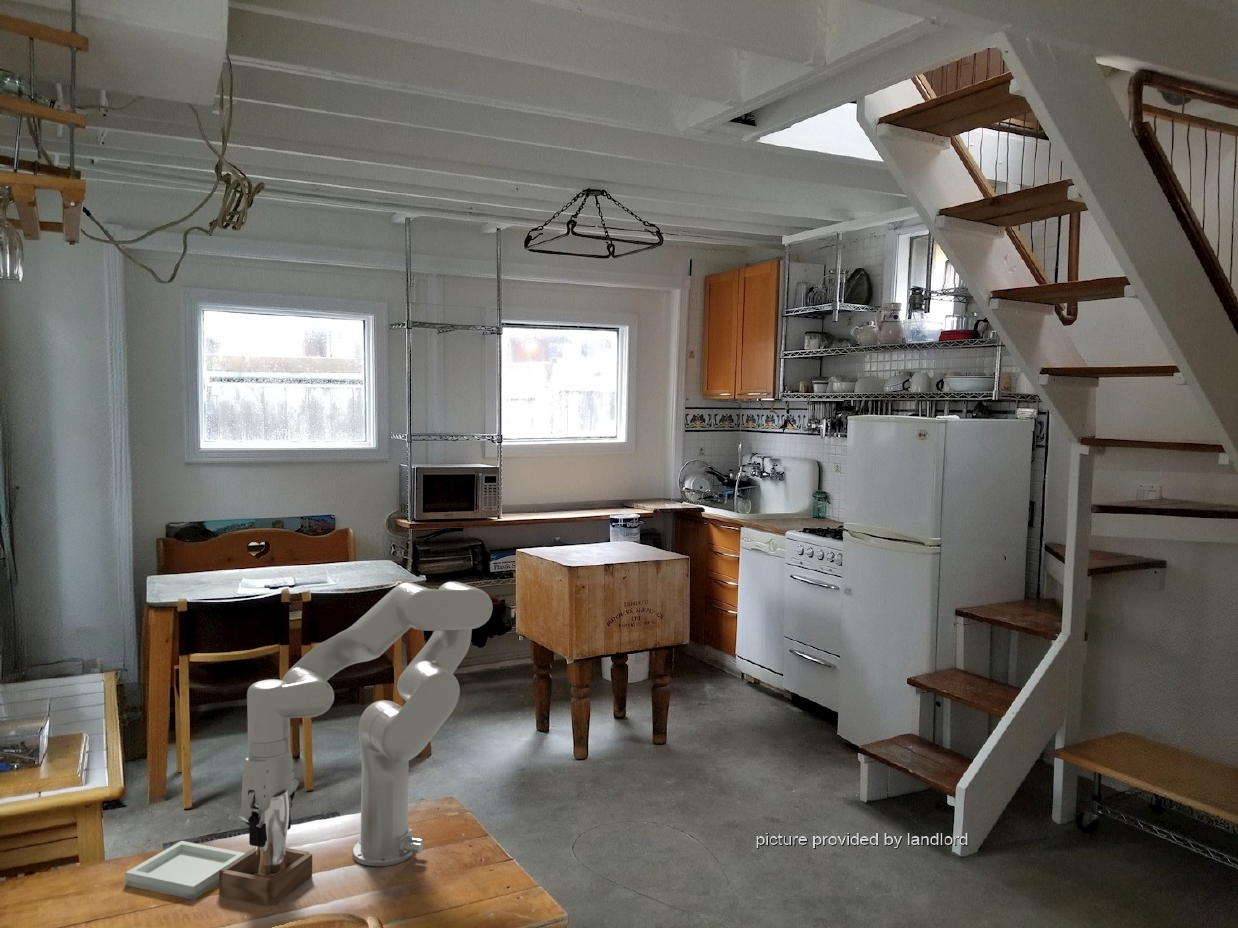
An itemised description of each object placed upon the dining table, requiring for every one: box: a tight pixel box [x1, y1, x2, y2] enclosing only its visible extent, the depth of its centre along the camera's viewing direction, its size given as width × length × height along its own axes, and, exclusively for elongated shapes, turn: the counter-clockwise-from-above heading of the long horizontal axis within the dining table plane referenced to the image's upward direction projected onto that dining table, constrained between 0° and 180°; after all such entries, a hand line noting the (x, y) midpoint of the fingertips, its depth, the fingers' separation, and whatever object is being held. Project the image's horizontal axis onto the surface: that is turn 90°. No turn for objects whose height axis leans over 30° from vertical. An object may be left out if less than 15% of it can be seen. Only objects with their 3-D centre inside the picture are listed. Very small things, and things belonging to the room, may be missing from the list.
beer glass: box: [254, 789, 289, 876], centre depth 171 cm, size 7×7×15 cm
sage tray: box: [124, 840, 246, 901], centre depth 174 cm, size 16×14×2 cm
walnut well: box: [218, 846, 313, 906], centre depth 171 cm, size 12×12×4 cm
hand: (270, 835), depth 171 cm, fingers closed on beer glass, 6 cm apart
